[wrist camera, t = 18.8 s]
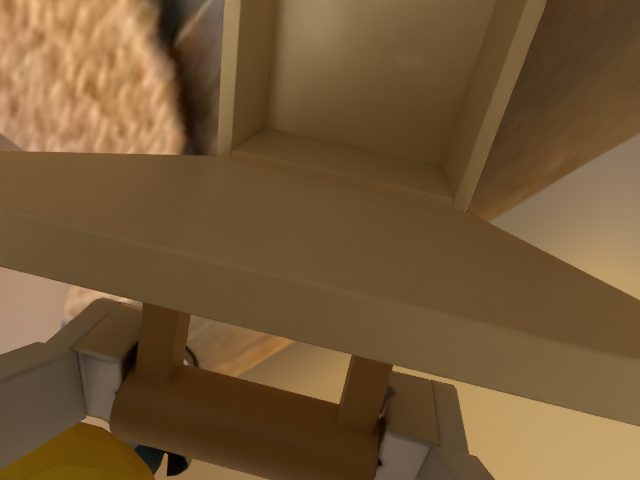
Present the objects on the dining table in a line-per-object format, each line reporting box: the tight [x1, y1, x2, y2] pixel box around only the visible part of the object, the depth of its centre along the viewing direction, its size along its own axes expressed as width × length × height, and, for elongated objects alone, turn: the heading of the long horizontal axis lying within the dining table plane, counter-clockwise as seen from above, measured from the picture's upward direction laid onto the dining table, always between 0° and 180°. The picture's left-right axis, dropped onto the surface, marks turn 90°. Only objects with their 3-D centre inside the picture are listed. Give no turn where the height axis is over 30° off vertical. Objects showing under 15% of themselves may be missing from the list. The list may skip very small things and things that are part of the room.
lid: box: [0, 151, 640, 480], centre depth 13 cm, size 16×14×5 cm
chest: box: [217, 0, 547, 212], centre depth 20 cm, size 16×14×7 cm
